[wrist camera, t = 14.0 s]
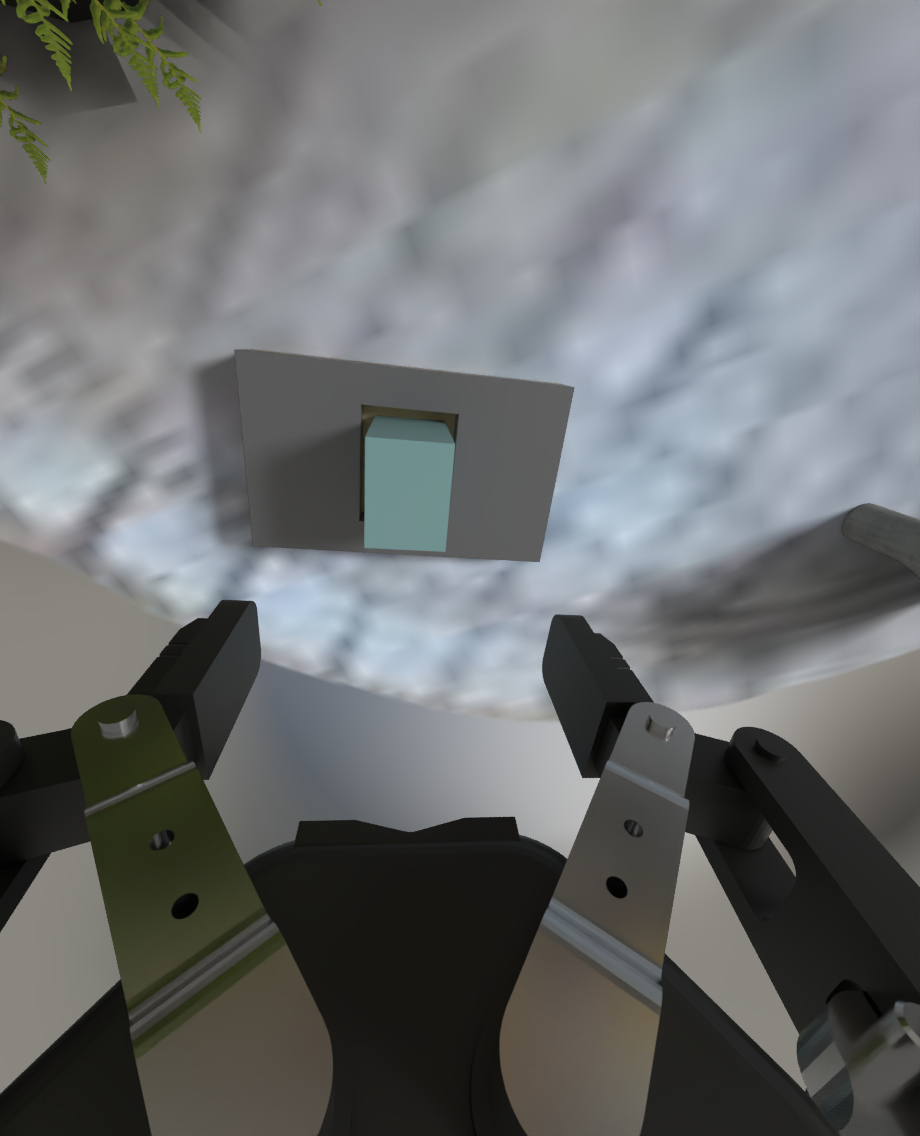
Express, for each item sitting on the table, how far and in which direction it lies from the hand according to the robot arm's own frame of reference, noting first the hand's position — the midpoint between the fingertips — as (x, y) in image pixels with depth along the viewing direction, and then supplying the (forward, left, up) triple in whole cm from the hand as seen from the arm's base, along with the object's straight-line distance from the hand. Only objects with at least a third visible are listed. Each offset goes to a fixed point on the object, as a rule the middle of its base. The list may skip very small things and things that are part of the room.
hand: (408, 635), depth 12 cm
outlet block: (0, 0, -22) cm, 22 cm away
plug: (0, 0, -21) cm, 21 cm away
